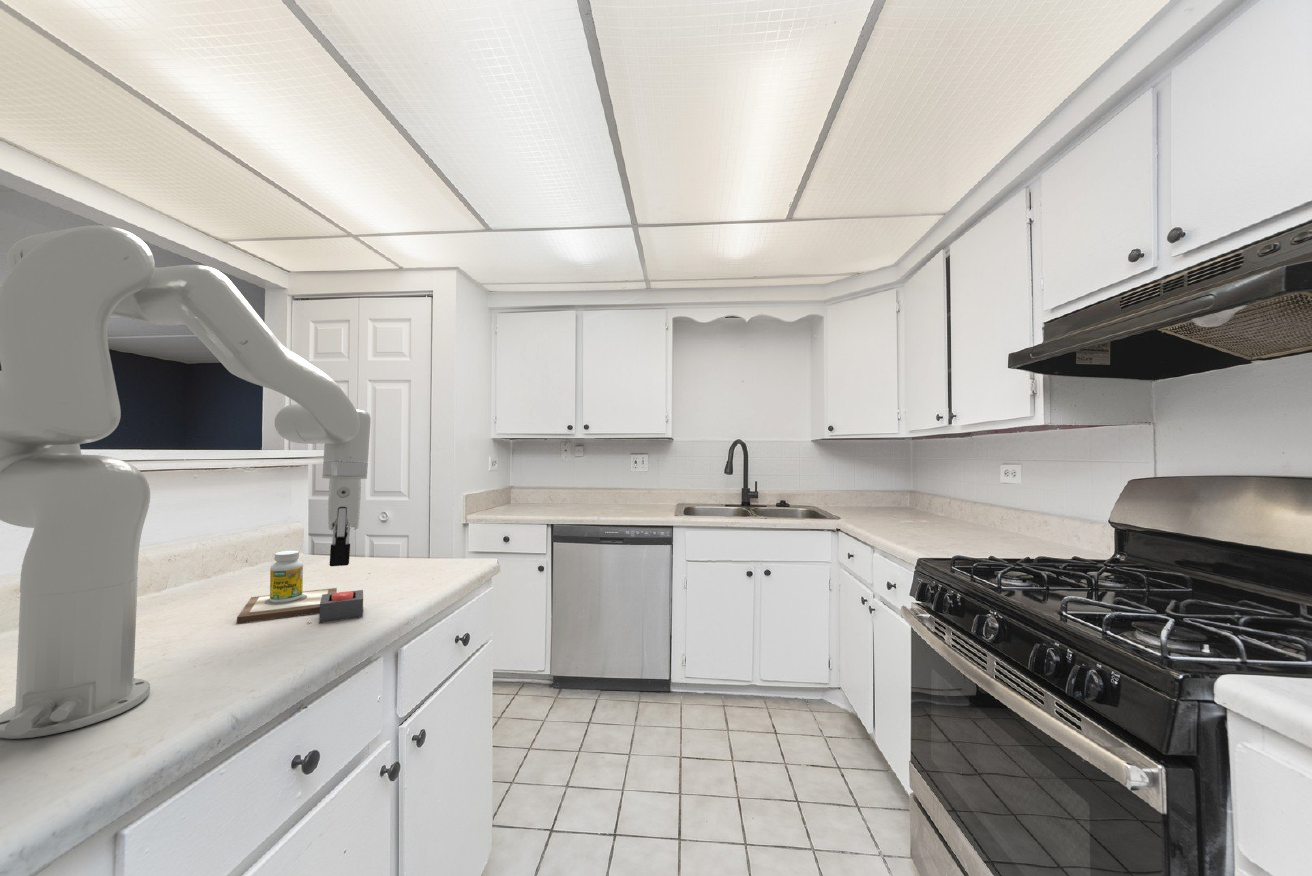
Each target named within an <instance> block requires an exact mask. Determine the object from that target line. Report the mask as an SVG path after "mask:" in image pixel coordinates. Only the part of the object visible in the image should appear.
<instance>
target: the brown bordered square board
mask: <svg viewBox="0 0 1312 876" xmlns="http://www.w3.org/2000/svg"><path fill="white" fill-rule="evenodd" d="M337 589H338V588H337V587H333V588H332V587H331V588H323V589H313V590H305V591H303V590H302V597H301V598H299V599H297V600H294V601H290V602H284V603H274V602H271V601H270V594H269V595H259V596H251V597H250V599H249V600H248V601H247V603H246V604H245V606H244V607H243V608H242V610H241V611H240V612H239V614H238V615H237V617H236V624H246V623H253V622H261V621H268V620H269V621H270V620H276V619H284V618H293V617H301V616H308V615H315V614H320V602H321V598H322V594H331V593H338V592H337Z"/></svg>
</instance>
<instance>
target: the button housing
mask: <svg viewBox="0 0 1312 876" xmlns="http://www.w3.org/2000/svg"><path fill="white" fill-rule="evenodd" d="M347 592H353V598H352V599H344V600H335V601H332V595H333V594H335V593H331V594H322V598H321V602H320V613H319V615H318V616H319V618H318V619H319V620H318V622H319V624H322V623H330V622H337V621H344V620H351V619H357V618H363V617H364V616H363V614H364V590H363V589H358V590H350V591H347Z"/></svg>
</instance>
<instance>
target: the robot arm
mask: <svg viewBox="0 0 1312 876" xmlns="http://www.w3.org/2000/svg"><path fill="white" fill-rule="evenodd" d="M6 261H7V262H6V264H7V267H8V270H9V272H8V274H7V275H6V276H5V278H3V282H1V284H0V367H1V368H0V369H1V370H0V521H2V522H3V523H5V524H6V523H7V524H9V525H13V526H17V527H21V528H28V529H33V531H32V535H31V537H30V541H29V543H28V545H27V548H26V550H25V554H24V557H23V561H22V565H21V571H20V582H19V585H20V586H19V593H20V594H19V596H20V599H19V617H18V636H17V637H18V640H17V663H16V664H17V666H16V683H15V704H14V705H13V706H11V707H10V708H8V709H7V710H5V711H3V712H2V713H1V714H0V738H2V739H8V740H10V739H13V740H15V739H16V740H21V739H33V738H38V737H44V736H46V737H47V736H50V735H56V734H60V733H64V732H69V731H72V730H73V731H74V730H77V729H79V728H83V727H87V726H90V725H94V724H98V723H99V722H102V721H105V720H107V719H110V718H113V717H115V716H117V715H120V714H122V713H124V712H127V711H129V710H131V709H133V708H134V707H135V706H138V705H139V704H141V703H142V702H143V701H145V699H147V698H148V697H149V695H150V693H151V684H150V682H149V681H148V680H145V679H142V678H136V677H135V676H134V675H135V655H136V654H135V653H136V625H137V606H138V605H137V603H138V601H137V599H138V581H139V580H138V569H139V567H138V566H139V555H140V553H139V552H140V545H141V544H140V543H141V539H142V533H143V529H144V524H145V522H146V518H147V515H148V511H149V507H150V502H151V488H150V485H149V482H148V480H147V478H146V476H145V475H144V474H143V473H142V471H140V470H139V469H138V468H137V467H136V466H135V465H133V464H131V463H129V462H127V461H125V460H123V459H119V458H116V457H112V456H105V455H98V454H82V451H81V446H80V445H82V444H83V445H84V444H88V443H93V442H97V441H100V440H102V439H104V438H106V437H108V436H110V435H111V434H112V433H113V432H114V431H115V430H116V429H117V427H118V426H119V423H120V421H121V417H122V415H121V413H122V412H121V411H122V410H121V404H120V398H119V395H118V390H117V385H116V380H115V374H114V370H113V363H112V359H111V354H110V348H109V341H108V329H109V328H108V326H109V321H110V318H111V316H114V317H119V318H123V319H127V320H132V321H136V322H137V321H138V322H142V323H148V324H153V325H159V326H160V325H161V326H181V325H185V326H186V327H187V328H188V329H189V330H190V331H191V332H192V333H193V334H194V335H195V336H196V338H198V340H199V341H200V342H201V343H202V344H203V345H204V346H205V347H206V348H207V349H208V350H209V351H210V352H211V354H212V355H213V356H214V357H215V358H216V359H217V360H218V361H219V362H220V363H221V365H222V366H223V367H224V368H225V369H226V370H227V371H228V372H229V373H230V374H232V375H233V376H236V377H237V378H239V379H242V380H244V381H246V382H249V383H251V384H254V385H258V386H260V387H263V388H265V389H270V390H272V391H274V392H277V393H279V394H282V395H283V396H286V397H287V398H289V399H291V400H292V401H294V402H295V403H291V404H289V405H286V406H285V407H283V408H281V409H280V410H279V411H278V412H277V414H276V415H275V418H274V422H273V423H274V427H275V430H276V432H277V434H279V435H280V437H282V438H283V439H285V440H286V441H288V442H291V443H296V444H312V445H313V444H315V445H316V444H320V445H321V444H324V445H323V458H322V459H323V461H322V462H323V463H322V474H321V475H322V477H321V478H322V479H327V480H328V479H329V482H328V483H329V484H328V498H327V499H328V500H327V520H328V521H327V522H328V523H327V524H328V530H330V531H332V539H331V540H332V541H331V544H330V549H329V550H330V553H329V566H330V567H342V566H343V567H345V566H349V564H350V554H351V543H350V532H351V528H354V529H353V530H355V531H357V530H358V529H359V527H360V526H359V525H360V511H361V510H360V509H361V497H362V495H361V492H362V486H361V485H362V481H361V480H367V479H368V466H369V455H370V454H369V452H370V451H369V450H370V434H371V423H372V422H371V418H372V417H371V415H370V413H369V412H368V411H366V410H363V409H357V408H356V406H354V404H353V403H352V401H351V399H350V398H349V397H348V396H347V395H346V393H345V392H344V390H343V389H342V388H341V387H340V385H339V384H338V383H337V382H336V381H335V380H334V379H333V378H332V377H330V376H329V375H328V374H327V373H325V372H324V371H323V370H321V369H320V368H318V367H317V366H315V365H314V364H312V363H311V362H309V361H307V359H305V358H303V357H301V356H300V355H298V354H296V353H295V352H293V351H291V350H290V349H288V348H287V347H286V346H285V345H283V343H282V342H281V341H280V340H279V339H278V337H276V335H275V334H274V333H273V331H272V330H271V329H270V328H269V326H268V325H267V324H266V323H265V322H264V320H263V318H262V317H261V316H260V315H259V314H258V312H256V310H255V309H254V307H253V306H252V305H251V304H250V303H249V302H248V300H247V299H246V298H245V297H244V295H243V293H241V291H240V290H239V289H238V288H237V287H236V286H235V284H234V283H233V282H232V280H230V279H229V278H228V276H227V275H225V274H224V273H223V272H221V271H220V270H218V269H216V268H214V267H211V266H208V265H201V264H180V265H173V266H165V267H164V266H163V267H155V264H156V263H155V262H156V261H155V259H154V255H153V252H152V251H151V248H150V247H149V246H148V245H147V244H146V243H145V242H144V241H143V240H142V239H141V238H140V237H138V236H136V235H135V234H134V233H132V232H130V231H127V230H126V229H122V228H119V227H115V226H114V227H113V226H108V225H98V224H97V225H95V224H94V225H83V226H78V227H71V228H65V229H64V228H63V229H61V230H60V229H59V230H56V231H49V232H44V233H43V232H42V233H38V234H37V233H36V234H32V235H28V236H26V237H23V238H22V239H20V240H17V241H16V242H15V243H14V244H12V246H11V247H10V249H8V252H7V256H6Z"/></svg>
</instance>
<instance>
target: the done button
mask: <svg viewBox="0 0 1312 876" xmlns="http://www.w3.org/2000/svg"><path fill="white" fill-rule="evenodd" d="M352 598H353V592H348V591H339V592H336V593H335V594H333V595H332V601H335V600H344V599H352Z"/></svg>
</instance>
